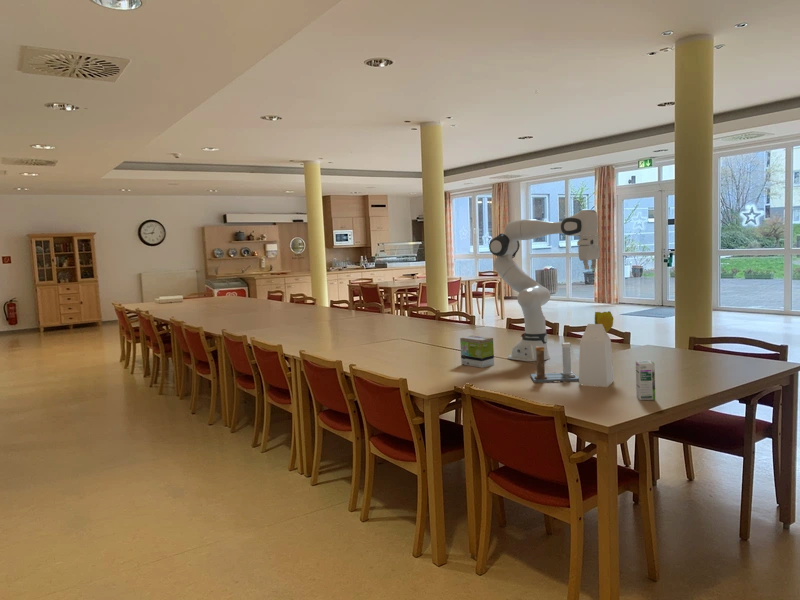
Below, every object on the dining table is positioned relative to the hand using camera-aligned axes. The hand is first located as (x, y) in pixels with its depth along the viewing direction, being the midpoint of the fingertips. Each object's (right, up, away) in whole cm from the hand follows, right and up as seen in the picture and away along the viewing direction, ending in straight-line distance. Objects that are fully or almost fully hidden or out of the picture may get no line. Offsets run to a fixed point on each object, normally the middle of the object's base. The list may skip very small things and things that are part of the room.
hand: (590, 268), depth 295 cm
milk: (-10, -52, -39) cm, 66 cm away
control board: (-25, -52, -27) cm, 63 cm away
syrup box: (0, -54, -68) cm, 87 cm away
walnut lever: (-32, -51, -29) cm, 67 cm away
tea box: (-55, -50, +14) cm, 76 cm away
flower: (-2, -51, -27) cm, 57 cm away
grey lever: (-18, -50, -24) cm, 58 cm away
